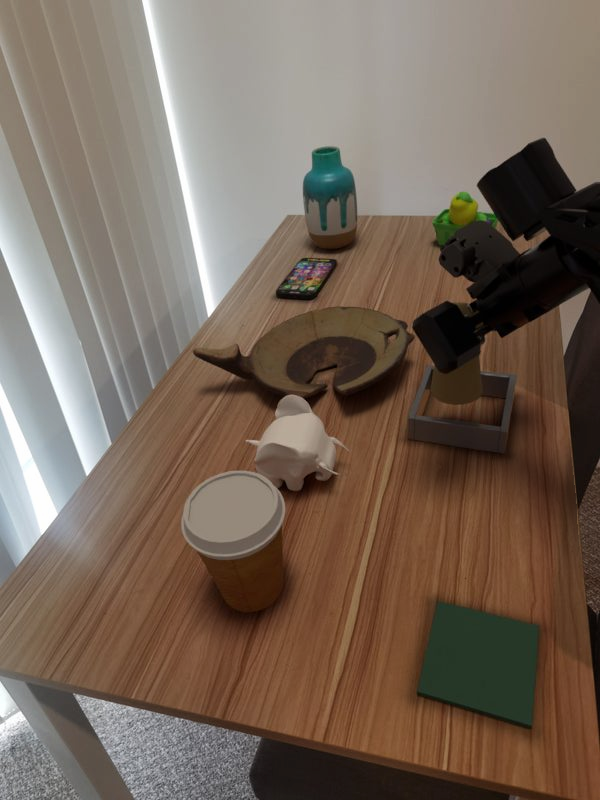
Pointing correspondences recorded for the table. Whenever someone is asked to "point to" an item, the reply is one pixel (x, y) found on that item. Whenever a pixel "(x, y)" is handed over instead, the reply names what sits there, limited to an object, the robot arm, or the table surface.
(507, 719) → the coaster
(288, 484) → the elephant figurine
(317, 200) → the vase
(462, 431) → the holder
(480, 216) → the fruit basket
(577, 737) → the table surface
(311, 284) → the smartphone
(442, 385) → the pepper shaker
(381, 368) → the brown shallow dish
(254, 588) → the disposable coffee cup
